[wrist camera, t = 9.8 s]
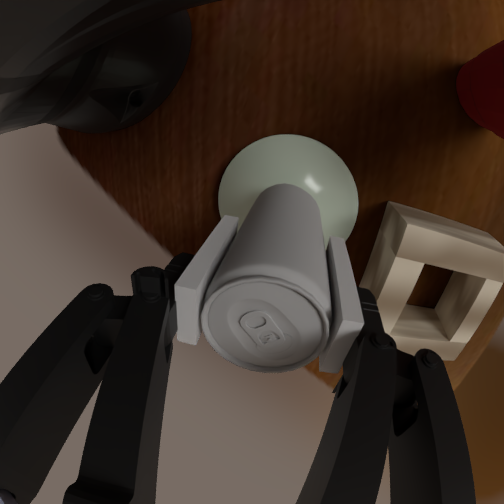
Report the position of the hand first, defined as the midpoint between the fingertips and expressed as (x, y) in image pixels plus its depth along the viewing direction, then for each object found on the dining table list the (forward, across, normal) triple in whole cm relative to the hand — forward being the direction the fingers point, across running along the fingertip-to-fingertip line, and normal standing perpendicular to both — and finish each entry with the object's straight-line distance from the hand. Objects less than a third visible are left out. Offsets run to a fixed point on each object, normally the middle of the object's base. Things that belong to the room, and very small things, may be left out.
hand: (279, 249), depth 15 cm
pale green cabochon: (+8, 0, 0) cm, 8 cm away
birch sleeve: (+8, +14, -4) cm, 17 cm away
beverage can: (+6, 0, 0) cm, 6 cm away
